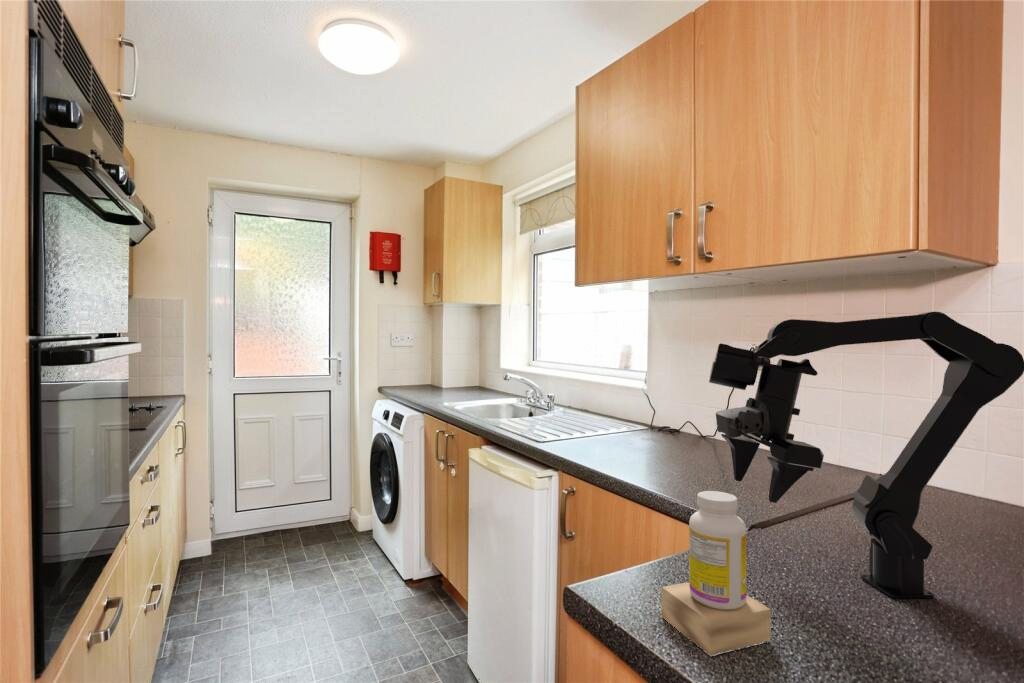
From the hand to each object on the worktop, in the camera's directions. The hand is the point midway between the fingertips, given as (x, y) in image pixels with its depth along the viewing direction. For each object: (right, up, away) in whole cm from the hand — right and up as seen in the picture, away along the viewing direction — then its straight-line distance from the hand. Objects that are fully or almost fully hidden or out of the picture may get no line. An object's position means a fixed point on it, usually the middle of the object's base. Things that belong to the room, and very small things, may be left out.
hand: (754, 490), depth 82 cm
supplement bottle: (-14, -8, -19) cm, 24 cm away
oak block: (-14, -12, -18) cm, 26 cm away
